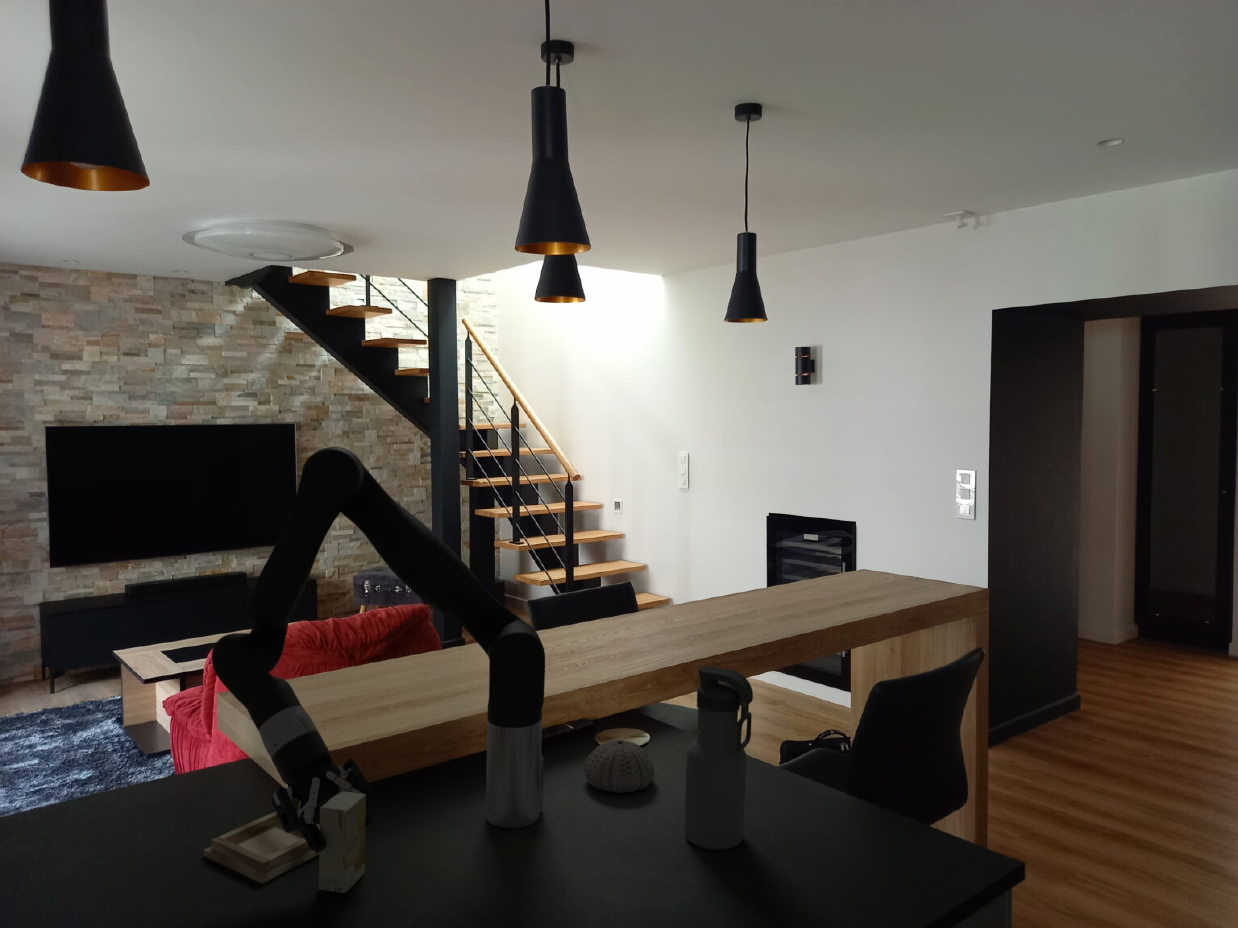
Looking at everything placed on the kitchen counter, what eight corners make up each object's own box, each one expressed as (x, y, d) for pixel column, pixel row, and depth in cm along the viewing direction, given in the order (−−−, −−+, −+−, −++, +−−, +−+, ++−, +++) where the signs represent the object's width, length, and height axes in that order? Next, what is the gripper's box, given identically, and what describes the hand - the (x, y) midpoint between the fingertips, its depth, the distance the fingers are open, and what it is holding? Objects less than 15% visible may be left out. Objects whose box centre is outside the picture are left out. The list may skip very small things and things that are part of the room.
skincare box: (345, 894, 125) (345, 811, 124) (317, 890, 126) (317, 808, 125) (366, 871, 132) (367, 792, 131) (340, 867, 132) (340, 789, 132)
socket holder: (281, 820, 147) (281, 806, 147) (338, 843, 139) (338, 828, 139) (203, 855, 135) (203, 840, 135) (262, 883, 128) (262, 867, 127)
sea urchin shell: (572, 775, 168) (573, 735, 167) (634, 764, 174) (635, 724, 173) (602, 804, 156) (603, 760, 155) (668, 791, 162) (669, 749, 161)
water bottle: (753, 831, 147) (759, 667, 145) (735, 858, 138) (741, 684, 136) (696, 818, 151) (701, 659, 149) (675, 843, 142) (680, 674, 141)
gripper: (264, 745, 126) (318, 845, 120) (343, 716, 138) (395, 806, 133) (241, 772, 129) (292, 871, 124) (320, 742, 141) (370, 830, 136)
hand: (345, 837), depth 128 cm, fingers open, 8 cm apart
